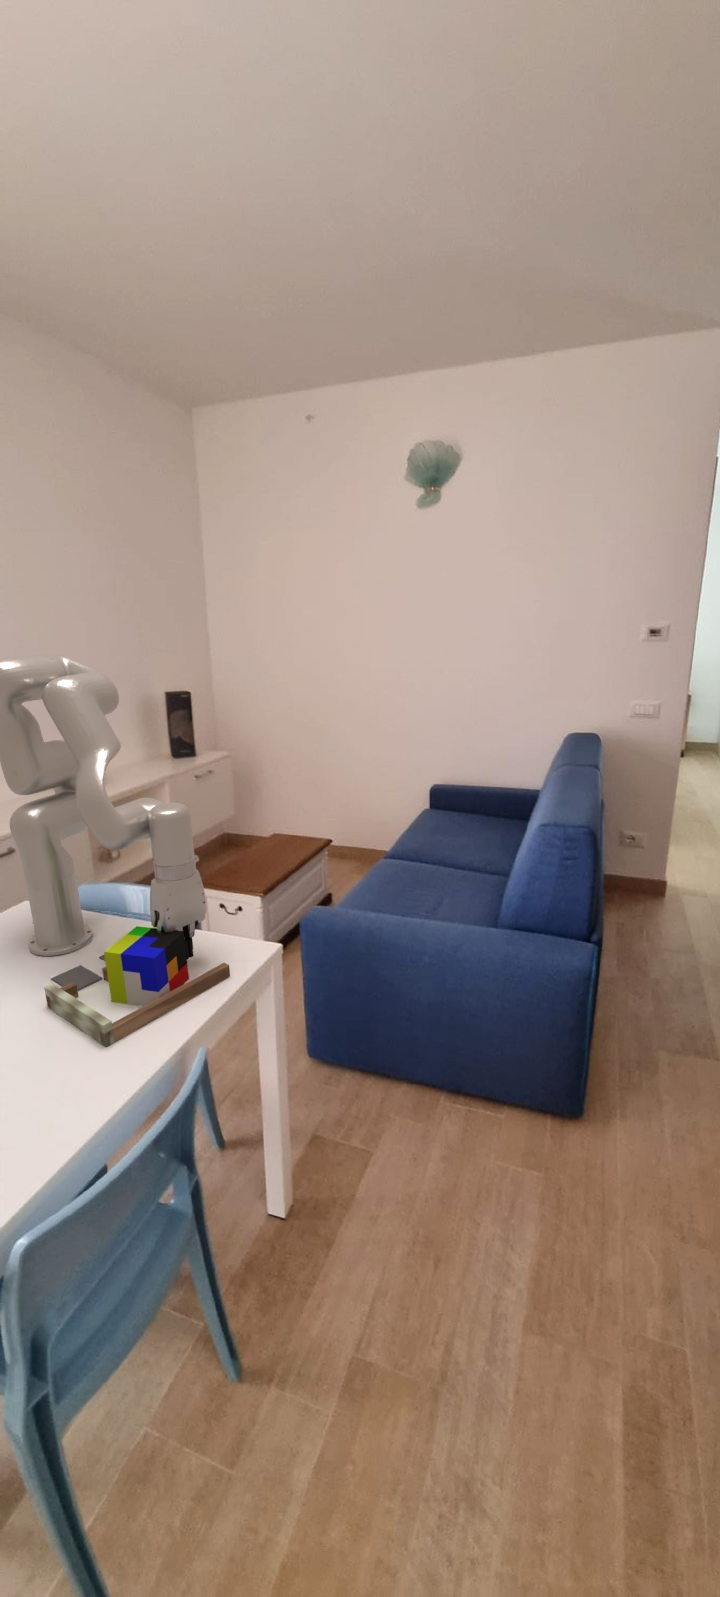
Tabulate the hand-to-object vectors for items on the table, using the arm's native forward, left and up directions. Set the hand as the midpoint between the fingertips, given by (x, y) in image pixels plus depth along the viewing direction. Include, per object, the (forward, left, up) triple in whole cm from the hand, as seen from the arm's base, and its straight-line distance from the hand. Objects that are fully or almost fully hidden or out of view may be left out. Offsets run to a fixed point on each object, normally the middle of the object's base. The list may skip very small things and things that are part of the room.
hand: (185, 956), depth 126 cm
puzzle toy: (+1, -9, -3) cm, 9 cm away
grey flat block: (-14, -15, -3) cm, 21 cm away
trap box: (0, -10, -3) cm, 10 cm away
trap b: (-14, -5, -3) cm, 15 cm away
